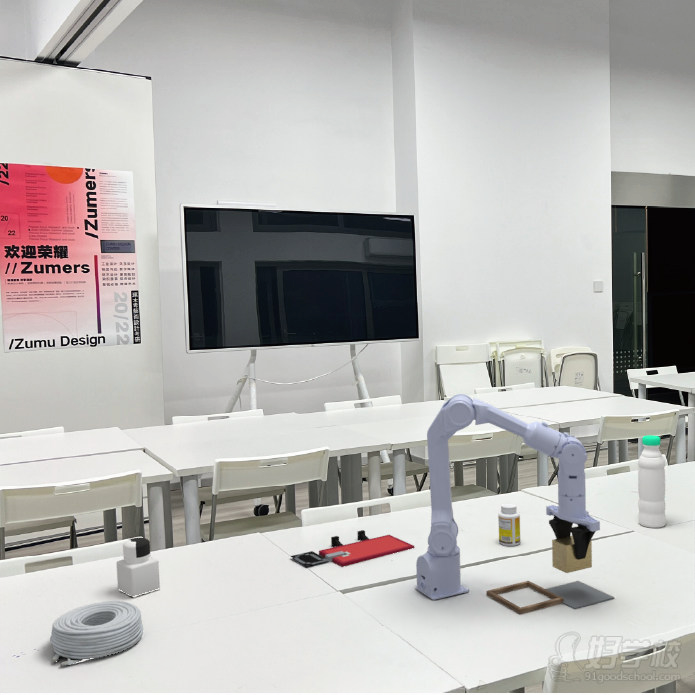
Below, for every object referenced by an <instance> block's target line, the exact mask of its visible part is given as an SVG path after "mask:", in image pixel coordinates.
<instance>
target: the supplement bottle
mask: <svg viewBox="0 0 695 695" xmlns="http://www.w3.org/2000/svg"><path fill="white" fill-rule="evenodd" d="M497 515H498V516H497V518H498V542H499V543H500V545H503V546H507V547H516V546H518V545H519V544H521V517H520V516H521V515H520V512H518V511H517V505H516V504H515V503H502V504H501V505H500V511H499V512H498V514H497Z"/></svg>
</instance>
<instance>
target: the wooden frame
mask: <svg viewBox="0 0 695 695" xmlns="http://www.w3.org/2000/svg"><path fill="white" fill-rule="evenodd" d="M525 588H529V589H531V590H534V591H535V592H538V593H539V594H542V595H543V596H545V597H547V598H548V600H544V601H541V602H536V603H533V604H529V605H525V606H521V607H520V606H519V605H516V604H515V603H514V602H511V601H510V600H507V599H506V598H504V597H503V596H501V595H500V594H505V593H509V592H513V591H517V590H520V589H525ZM546 589H547V588H544V587H542V586H540V585H538V584H536V583H533V582H532V581H530V580H526V581H521V582H518V583H517V582H516V583H513V584H508V585H506V586H501V587H498V588H493V589H488V590H486V596H487V597H489V598H490V599H493V600H494V601H495V602H498V603H499V604H501V605H502V606H504V607H506V608H508V609H510V610H511V611H513V612H515V613H516V614H518V615H523V614H527V613H530V612H535V611H538V610H543V609H546V608H550V607H553V606H557V605H561V604H563V602H564V598H562V597H560V596H558V595H556V594H554V593H552V592H550V591H548V590H546Z"/></svg>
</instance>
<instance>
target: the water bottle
mask: <svg viewBox="0 0 695 695" xmlns="http://www.w3.org/2000/svg"><path fill="white" fill-rule="evenodd" d="M641 442H642V446H643V450H642V451H641V453H640V455H639V457H638V459H637V465H638V471H637V478H638V479H637V488H638V503H637V506H638V520H637V521H638V524H639V525H641V526H642V527H644V528H651V529H659V528H663V527H664V526H665V525H666V501H665V497H666V470H665V467H666V460H665V459H664V457H663V454H662V452H661V451H660V446H661V437H660V436H658V435H653V434H652V435H649V434H648V435H643V436H642V438H641Z"/></svg>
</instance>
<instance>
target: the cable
mask: <svg viewBox="0 0 695 695" xmlns="http://www.w3.org/2000/svg"><path fill="white" fill-rule="evenodd" d="M143 634H144V625H143V619H142V614H141V610H140V608H139V607H138V606H136V605H135V604H133V603H131V602H127V601H120V600H106V601H100V602H93V603H89V604H85V605H81V606H79V607H76V608H74V609H72V610H69V611H67V612H65V613H63V614H61V615H60V616H59V617H57V618H56V619H55V620H54V621H53V623H52V627H51V635H50V638H49V641H50V644H51V647H52V650H53V651H54V653H55V655H53V656H52V662H53V663H54V662H55V663H57V662H56V661H58V660H59V661H60V659H59V656H60V657H63V658H66V659H67V660H66V661H62V662H61V663H60V664H59V667H61V666H62V665H70V664H73V663H76V662H79V661H80V660H82V659H90V658H97V659H100V658H104V657H103V656H105V657H108V656H107V655H109V656H112V655H111V654H113V655H115V653H116V654H118V652H119V653H121V652H123V650H124V651H125V650H128V649H130V648H132V647H133V646H134V645H135V644H137V643H138V642H139V641H140V640H141V639H142V637H143ZM127 648H128V649H127ZM99 657H100V658H99ZM71 659H72V660H71ZM73 659H74V660H73ZM62 667H63V666H62Z"/></svg>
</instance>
